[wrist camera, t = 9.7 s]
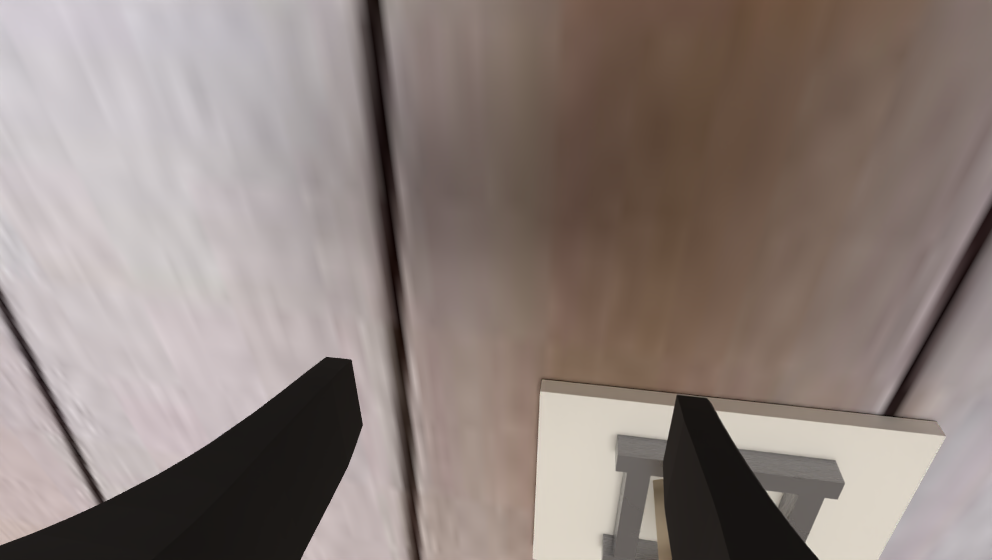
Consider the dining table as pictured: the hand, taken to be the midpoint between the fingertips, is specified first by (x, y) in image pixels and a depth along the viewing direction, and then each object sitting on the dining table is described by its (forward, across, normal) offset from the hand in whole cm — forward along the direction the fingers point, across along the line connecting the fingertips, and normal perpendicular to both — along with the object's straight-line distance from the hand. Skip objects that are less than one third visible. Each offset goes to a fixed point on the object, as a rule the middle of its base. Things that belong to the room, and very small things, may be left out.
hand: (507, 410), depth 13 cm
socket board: (+10, -8, +14) cm, 19 cm away
